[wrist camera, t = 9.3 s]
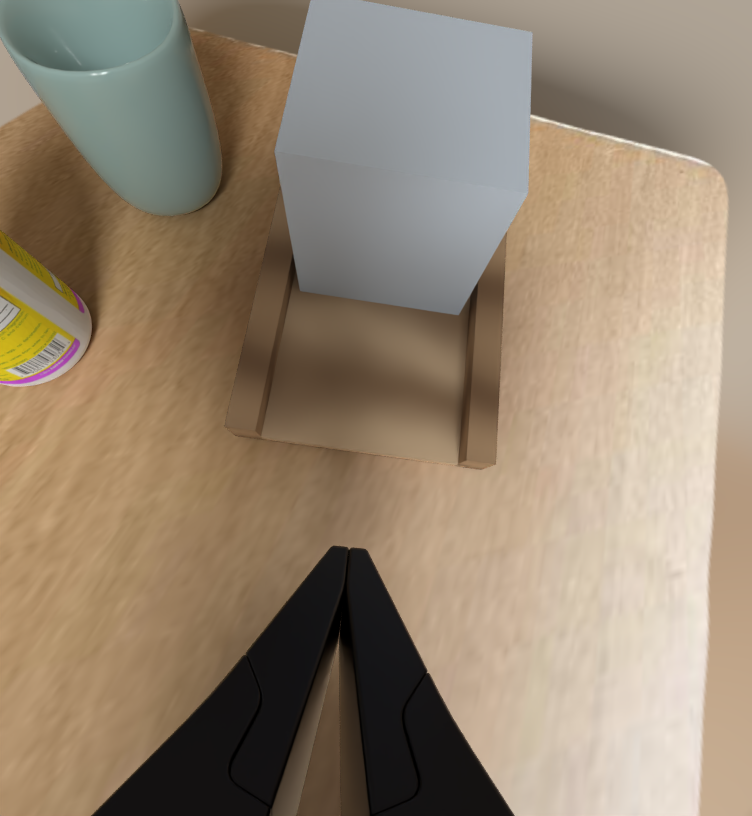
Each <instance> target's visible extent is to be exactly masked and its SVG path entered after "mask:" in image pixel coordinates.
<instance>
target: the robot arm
mask: <svg viewBox="0 0 752 816" xmlns="http://www.w3.org/2000/svg"><path fill="white" fill-rule="evenodd" d="M348 554H349V556H348ZM341 615H342V616H341ZM340 624H341V625H340ZM339 632H340V635H339ZM338 639H339V712H340V796H341V816H515V815H514V814H513V812H512V811H511V809H510V808H509V806H508V804H507V803H506V801H505V800H504V798H503V797H502V795H501V794H500V792H499V790H498V789H497V787H496V786H495V784H494V783H493V781H492V780H491V778H490V776H489V775H488V773H487V772H486V770H485V769H484V767H483V766H482V764H481V762H480V761H479V759H478V758H477V756H476V755H475V753H474V752H473V750H472V748H471V747H470V745H469V743H468V742H467V740H466V739H465V737H464V735H463V734H462V732H461V730H460V729H459V727H458V725H457V724H456V722H455V721H454V719H453V717H452V715H451V713H450V712H449V710H448V708H447V706H446V704H445V702H444V701H443V699H442V697H441V695H440V693H439V691H438V689H437V687H436V685H435V683H434V681H433V679H432V677H431V675H430V674H429V673H427V668H426V666H425V664H424V662H423V660H422V658H421V656H420V654H419V652H418V650H417V648H416V646H415V644H414V642H413V640H412V638H411V636H410V635H409V633H408V631H407V629H406V627H405V625H404V623H403V621H402V619H401V617H400V615H399V613H398V611H397V609H396V607H395V605H394V603H393V601H392V599H391V597H390V595H389V593H388V591H387V589H386V587H385V585H384V583H383V581H382V579H381V577H380V575H379V573H378V571H377V569H376V567H375V565H374V563H373V561H372V559H371V557H370V555H369V553H368V551H367V550H366V549H361V548H350V550H349V549H348V548H347V547H342V546H332V547H331V548H330V549H329V550H328V551H327V552H326V554H325V555H324V556H323V557H322V559H321V560H320V561H319V562H318V564H317V565H316V566H315V567H314V569H313V570H312V571H311V572H310V574H309V575H308V576H307V577H306V578H305V580H304V581H303V582H302V583H301V585H300V586H299V587H298V588H297V590H296V591H295V592H294V593H293V595H292V596H291V597H290V598H289V600H288V601H287V602H286V603H285V605H284V606H283V607H282V608H281V610H280V611H279V612H278V613H277V614H276V616H275V617H274V618H273V619H272V621H271V622H270V623H269V624H268V626H267V627H266V628H265V629H264V631H263V632H262V633H261V634H260V636H259V637H258V638H257V639H256V641H255V642H254V643H253V644H252V646H251V647H250V648H249V649H248V650H247V652H246V655H243V656H242V657H241V658H240V660H239V661H238V662H237V663H236V665H235V666H234V667H233V668H232V670H231V671H230V672H229V673H228V674H227V676H226V677H225V678H224V679H223V680H222V681H221V683H220V684H219V685H218V686H217V687H216V688H215V690H214V691H213V692H212V693H211V694H210V695H209V696H208V698H207V699H206V700H205V701H204V702H203V703H202V704H201V705H200V706H199V707H198V708H197V709H196V710H195V711H194V712H193V713H192V714H191V715H190V716H189V718H188V719H187V720H186V721H185V722H184V723H183V724H182V725H181V726H180V727H179V728H178V729H177V730H176V731H175V732H174V733H173V734H172V735H171V736H170V737H169V738H168V739H167V740H166V741H165V742H164V743H163V744H162V745H161V746H160V747H159V748H158V749H157V750H156V751H155V752H154V753H153V754H152V755H151V756H150V757H149V758H148V759H147V760H146V761H145V762H144V763H143V764H142V765H141V766H140V767H139V768H138V769H137V770H136V771H135V772H134V773H133V774H132V775H131V776H130V777H129V778H128V779H127V780H126V781H125V782H124V783H123V784H122V785H121V786H120V787H119V788H118V789H117V790H116V791H115V792H114V793H113V794H112V795H111V796H110V797H109V798H108V799H107V800H106V801H105V802H104V803H103V804H102V805H101V806H100V807H99V808H98V809H97V810H96V811H95V812H94V813H93V814H92V815H91V816H297V811H298V807H299V803H300V799H301V795H302V791H303V787H304V782H305V778H306V774H307V770H308V766H309V762H310V757H311V753H312V749H313V745H314V741H315V737H316V733H317V728H318V724H319V720H320V716H321V712H322V708H323V703H324V699H325V695H326V691H327V687H328V683H329V679H330V674H331V670H332V666H333V662H334V658H335V654H336V649H337V644H338Z"/></svg>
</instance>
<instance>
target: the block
mask: <svg viewBox="0 0 752 816" xmlns="http://www.w3.org/2000/svg"><path fill="white" fill-rule="evenodd" d="M531 64H532V32H528V31H523V30H518V29H512V28H507V27H501V26H495V25H491V24H485V23H480V22H474V21H469V20H463V19H458V18H453V17H448V16H442V15H437V14H431V13H426V12H420V11H415V10H409V9H404V8H399V7H394V6H388V5H383V4H377V3H372V2H367V1H361V0H311V2H310V6H309V10H308V14H307V18H306V22H305V26H304V31H303V35H302V39H301V43H300V47H299V51H298V55H297V60H296V64H295V68H294V72H293V76H292V80H291V84H290V89H289V93H288V97H287V101H286V105H285V109H284V113H283V118H282V122H281V126H280V130H279V134H278V138H277V143H276V147H275V157H276V162H277V168H278V173H279V179H280V184H281V190H282V195H283V200H284V206H285V211H286V217H287V222H288V228H289V233H290V239H291V244H292V250H293V255H294V260H295V266H296V271H297V277H298V282H299V288H300V291H302V292H309V293H316V294H322V295H329V296H335V297H342V298H348V299H355V300H362V301H368V302H375V303H381V304H388V305H394V306H401V307H408V308H414V309H421V310H427V311H434V312H440V313H447V314H454V315H459V314H460V312H461V310H462V308H463V307H464V305H465V303H466V301H467V300H468V298H469V296H470V294H471V293H472V291H473V289H474V287H475V286H476V284H477V282H478V280H479V279H480V277H481V275H482V273H483V272H484V270H485V268H486V266H487V265H488V263H489V261H490V259H491V258H492V256H493V254H494V252H495V251H496V249H497V247H498V245H499V244H500V242H501V240H502V238H503V237H504V235H505V233H506V231H507V230H508V228H509V226H510V224H511V223H512V221H513V219H514V217H515V216H516V214H517V212H518V210H519V209H520V207H521V205H522V203H523V202H524V200H525V198H526V196H527V195H528V180H529V142H530V103H531V102H530V101H531Z"/></svg>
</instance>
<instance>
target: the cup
mask: <svg viewBox="0 0 752 816" xmlns="http://www.w3.org/2000/svg"><path fill="white" fill-rule="evenodd" d="M0 38H1V40H2V42H3V44H4V46H5V48H6V49H7V51H8V53H9V54H10V56H11V58H12V59H13V61H14V62H15V64H16V66H17V67H18V68H19V70H20V72H21V73H22V75H23V76H24V77H25V79H26V80H27V82H28V83H29V85H30V86H31V87H32V89H33V90H34V92H35V93H36V94H37V96H38V97H39V99H40V100H41V101H42V103H43V104H44V106H45V107H46V108H47V110H48V111H49V112H50V114H51V115H52V117H53V118H54V119H55V121H56V122H57V124H58V125H59V126H60V128H61V129H62V130H63V132H64V133H65V134H66V136H67V137H68V138H69V140H70V141H71V142H72V144H73V145H74V146H75V148H76V149H77V150H78V152H79V153H80V154H81V155H82V157H83V158H84V159H85V160H86V162H87V163H88V164H89V165H90V166H91V168H92V169H93V170H94V171H95V172H96V173H97V175H98V176H99V177H100V178H101V179H102V180H103V181H104V182H105V183H106V184H107V185H108V186H109V187H110V188H111V189H112V190H113V191H114V192H115V193H116V194H117V195H118V196H119V197H120V198H121V199H123V200H124V201H126V202H127V203H128V204H130V205H131V206H133V207H135V208H136V209H138V210H140V211H143V212H146V213H148V214H151V215H157V216H179V215H184V214H188V213H191V212H194V211H196V210H198V209H200V208H202V207H203V206H205V205H206V204H207V203H208V202H209V201H210V200H211V199H212V198H213V197H214V196H215V194H216V192H217V190H218V188H219V185H220V182H221V178H222V162H223V160H222V149H221V143H220V138H219V133H218V128H217V123H216V119H215V115H214V111H213V107H212V103H211V100H210V96H209V93H208V89H207V86H206V83H205V79H204V76H203V73H202V70H201V66H200V63H199V60H198V57H197V53H196V50H195V47H194V44H193V41H192V38H191V35H190V31H189V28H188V26H187V23H186V20H185V17H184V14H183V11H182V9H181V6H180V4H179V2H178V0H0Z"/></svg>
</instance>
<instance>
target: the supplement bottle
mask: <svg viewBox="0 0 752 816" xmlns="http://www.w3.org/2000/svg"><path fill="white" fill-rule="evenodd" d="M91 332H92V322H91V316H90V313H89V310H88V308H87V306H86V305H85V303H84V302H83V300H82V299H81V298H80V297H79V296H78V295H77V294H76V293H75V292H74V291H73V290H72V289H71V288H69V287H68V286H67V285H66V284H65V283H64V282H62V281H61V280H60V279H59V278H58V277H56V276H55V275H54V274H53V273H52V272H50V271H49V270H48V269H47V268H46V267H44V266H43V265H42V264H41V263H40V262H38V261H37V260H36V259H35V258H34V257H32V256H31V255H30V254H29V253H27V252H26V251H25V250H24V249H23V248H22V247H20V246H19V245H18V244H17V243H15V242H14V241H13V240H12V239H11V238H9V237H8V236H7V235H6V234H5V233H3V232H2V231H1V230H0V384H4V385H8V386H32V385H38V384H42V383H45V382H48V381H51V380H53V379H55V378H57V377H59V376H61V375H63V374H64V373H65V372H67V371H68V370H70V369H71V368H72V367H73V366H74V365H75V364H76V363H77V362H78V361H79V360H80V358H81V357H82V356H83V354H84V353H85V351H86V349H87V347H88V344H89V342H90V338H91Z"/></svg>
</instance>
